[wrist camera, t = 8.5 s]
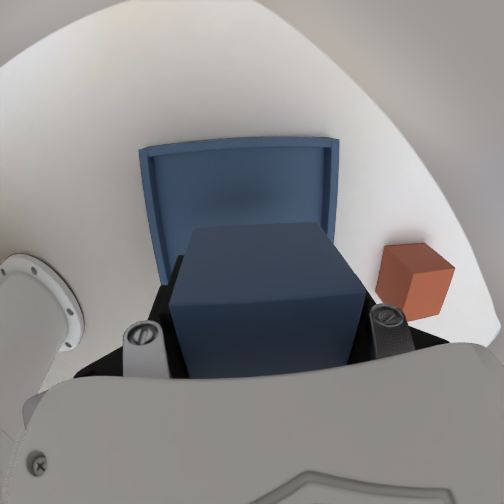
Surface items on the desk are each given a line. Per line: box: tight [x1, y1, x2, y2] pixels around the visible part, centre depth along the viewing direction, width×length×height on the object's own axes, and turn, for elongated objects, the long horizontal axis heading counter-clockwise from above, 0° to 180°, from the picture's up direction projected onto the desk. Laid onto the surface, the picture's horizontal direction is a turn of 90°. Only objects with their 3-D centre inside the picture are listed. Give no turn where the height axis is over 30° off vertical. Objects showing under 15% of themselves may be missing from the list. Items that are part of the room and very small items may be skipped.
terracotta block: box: [375, 243, 455, 322], centre depth 22 cm, size 5×5×5 cm
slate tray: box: [139, 137, 339, 285], centre depth 20 cm, size 13×11×2 cm
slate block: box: [169, 222, 366, 379], centre depth 10 cm, size 5×5×5 cm
